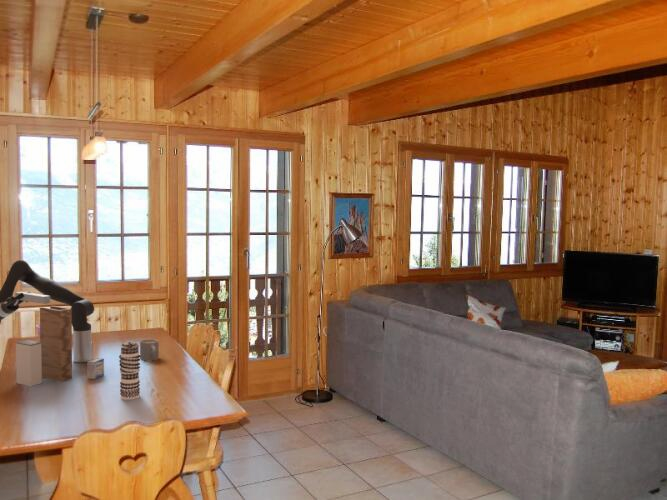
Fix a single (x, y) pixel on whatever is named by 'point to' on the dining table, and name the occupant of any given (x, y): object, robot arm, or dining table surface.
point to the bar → (34, 297)
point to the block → (28, 362)
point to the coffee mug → (149, 349)
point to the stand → (56, 343)
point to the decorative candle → (129, 370)
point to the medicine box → (95, 368)
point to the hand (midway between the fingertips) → (26, 294)
